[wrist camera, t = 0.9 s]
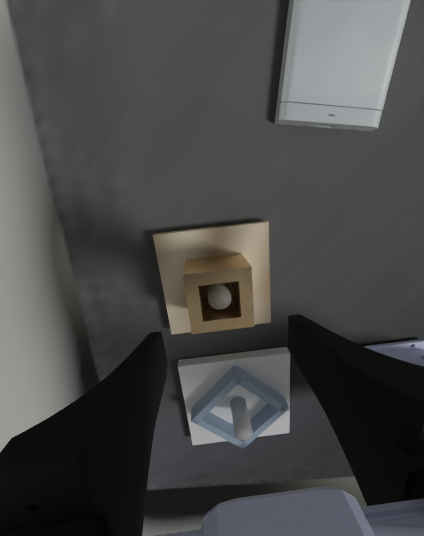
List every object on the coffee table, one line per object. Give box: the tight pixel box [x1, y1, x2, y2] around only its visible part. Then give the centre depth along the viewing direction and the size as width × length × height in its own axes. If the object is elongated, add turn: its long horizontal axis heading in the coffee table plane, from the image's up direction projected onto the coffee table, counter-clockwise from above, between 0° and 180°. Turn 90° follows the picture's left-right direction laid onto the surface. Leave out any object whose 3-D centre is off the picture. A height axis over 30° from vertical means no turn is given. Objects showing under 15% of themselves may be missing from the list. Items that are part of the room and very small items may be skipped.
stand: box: [153, 221, 271, 334], centre depth 19 cm, size 10×10×4 cm
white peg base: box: [178, 347, 290, 449], centre depth 24 cm, size 12×12×4 cm
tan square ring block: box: [183, 253, 255, 334], centre depth 18 cm, size 5×5×4 cm
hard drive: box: [275, 0, 411, 131], centre depth 15 cm, size 2×8×12 cm
